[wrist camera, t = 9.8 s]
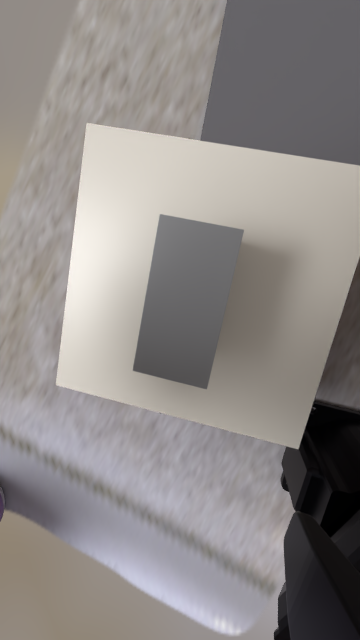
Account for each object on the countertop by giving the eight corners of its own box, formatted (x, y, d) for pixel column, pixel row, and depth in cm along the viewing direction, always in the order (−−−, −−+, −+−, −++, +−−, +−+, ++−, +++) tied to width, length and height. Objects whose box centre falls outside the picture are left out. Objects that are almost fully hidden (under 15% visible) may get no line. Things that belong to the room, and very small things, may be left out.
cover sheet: (374, 177, 12) (472, 118, 7) (293, 437, 15) (326, 523, 10) (96, 133, 13) (23, 59, 9) (66, 377, 16) (-5, 427, 11)
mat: (542, -115, 13) (554, -129, 13) (435, 189, 16) (441, 187, 16) (253, -129, 15) (254, -142, 14) (199, 152, 18) (198, 149, 17)
